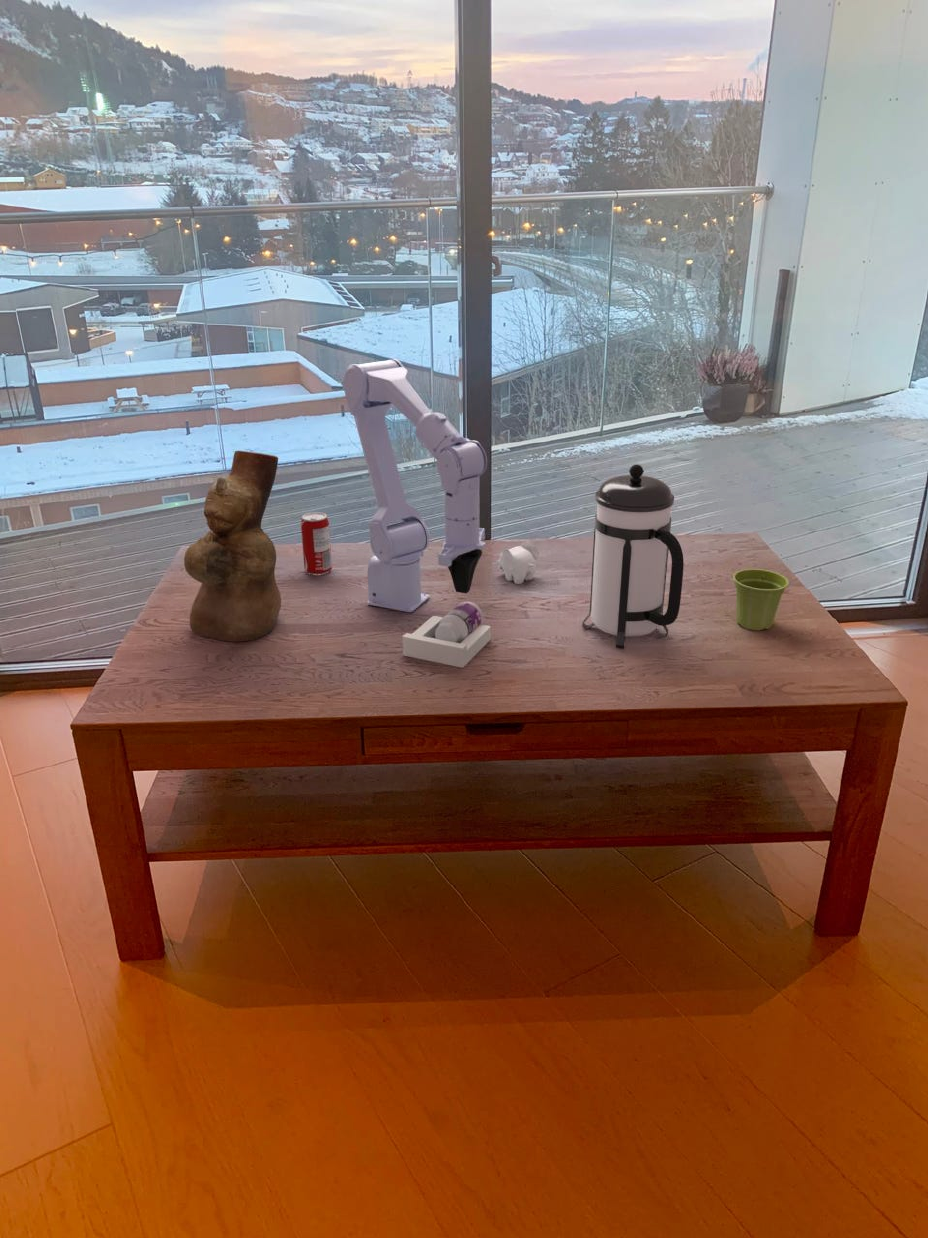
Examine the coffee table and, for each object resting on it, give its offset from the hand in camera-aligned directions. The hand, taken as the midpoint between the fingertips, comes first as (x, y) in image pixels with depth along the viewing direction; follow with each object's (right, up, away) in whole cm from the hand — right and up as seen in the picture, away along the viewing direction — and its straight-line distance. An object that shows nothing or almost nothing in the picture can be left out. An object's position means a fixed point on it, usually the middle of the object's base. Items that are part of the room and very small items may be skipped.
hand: (462, 591), depth 162 cm
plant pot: (+52, -6, +6) cm, 53 cm away
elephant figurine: (+11, +3, +27) cm, 29 cm away
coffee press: (+29, -8, +3) cm, 30 cm away
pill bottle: (+1, -4, +2) cm, 5 cm away
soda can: (-29, +5, +30) cm, 42 cm away
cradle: (-2, -9, -1) cm, 10 cm away
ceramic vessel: (-39, -5, +9) cm, 40 cm away
